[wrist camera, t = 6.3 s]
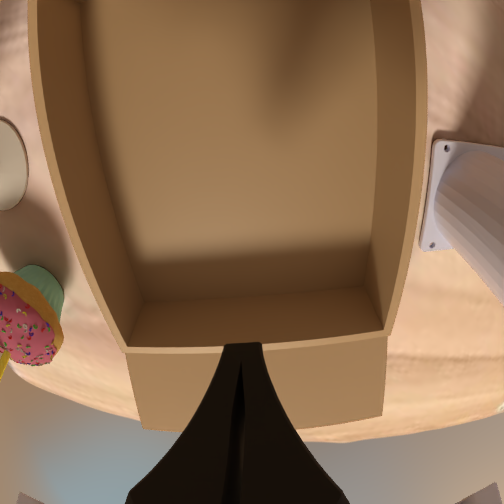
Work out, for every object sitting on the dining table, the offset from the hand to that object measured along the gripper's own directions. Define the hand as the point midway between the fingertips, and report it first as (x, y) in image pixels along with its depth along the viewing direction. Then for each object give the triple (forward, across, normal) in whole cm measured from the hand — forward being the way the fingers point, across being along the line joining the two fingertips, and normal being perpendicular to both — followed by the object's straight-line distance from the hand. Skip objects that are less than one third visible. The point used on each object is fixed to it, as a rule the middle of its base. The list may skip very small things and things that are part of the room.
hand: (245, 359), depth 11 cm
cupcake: (+10, +18, +2) cm, 21 cm away
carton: (+9, 0, -6) cm, 11 cm away
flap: (+3, 0, +7) cm, 8 cm away
